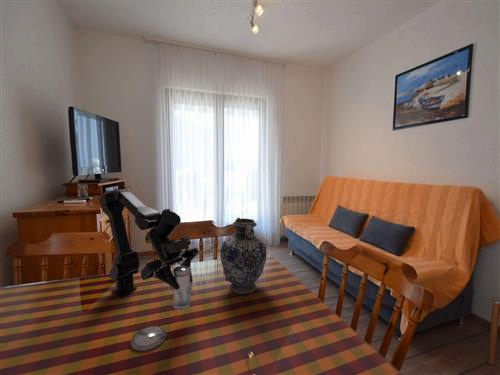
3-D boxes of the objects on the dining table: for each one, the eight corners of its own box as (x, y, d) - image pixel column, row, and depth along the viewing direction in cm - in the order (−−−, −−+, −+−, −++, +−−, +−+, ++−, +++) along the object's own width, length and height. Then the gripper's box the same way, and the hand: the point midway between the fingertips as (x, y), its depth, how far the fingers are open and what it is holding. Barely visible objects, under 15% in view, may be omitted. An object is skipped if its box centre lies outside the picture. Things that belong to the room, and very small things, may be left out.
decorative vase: (215, 278, 102) (217, 215, 100) (255, 274, 107) (257, 214, 106) (225, 305, 81) (228, 227, 79) (274, 298, 87) (277, 225, 85)
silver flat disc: (123, 344, 62) (123, 340, 62) (150, 324, 71) (150, 321, 70) (146, 356, 59) (146, 351, 58) (172, 334, 67) (172, 330, 67)
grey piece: (169, 306, 71) (169, 270, 70) (181, 298, 75) (181, 264, 75) (182, 311, 68) (182, 274, 68) (194, 302, 73) (194, 267, 72)
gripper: (146, 235, 65) (171, 285, 59) (195, 223, 80) (219, 262, 75) (130, 257, 69) (153, 304, 64) (180, 241, 85) (201, 279, 80)
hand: (185, 285), depth 71 cm, fingers closed on grey piece, 5 cm apart
